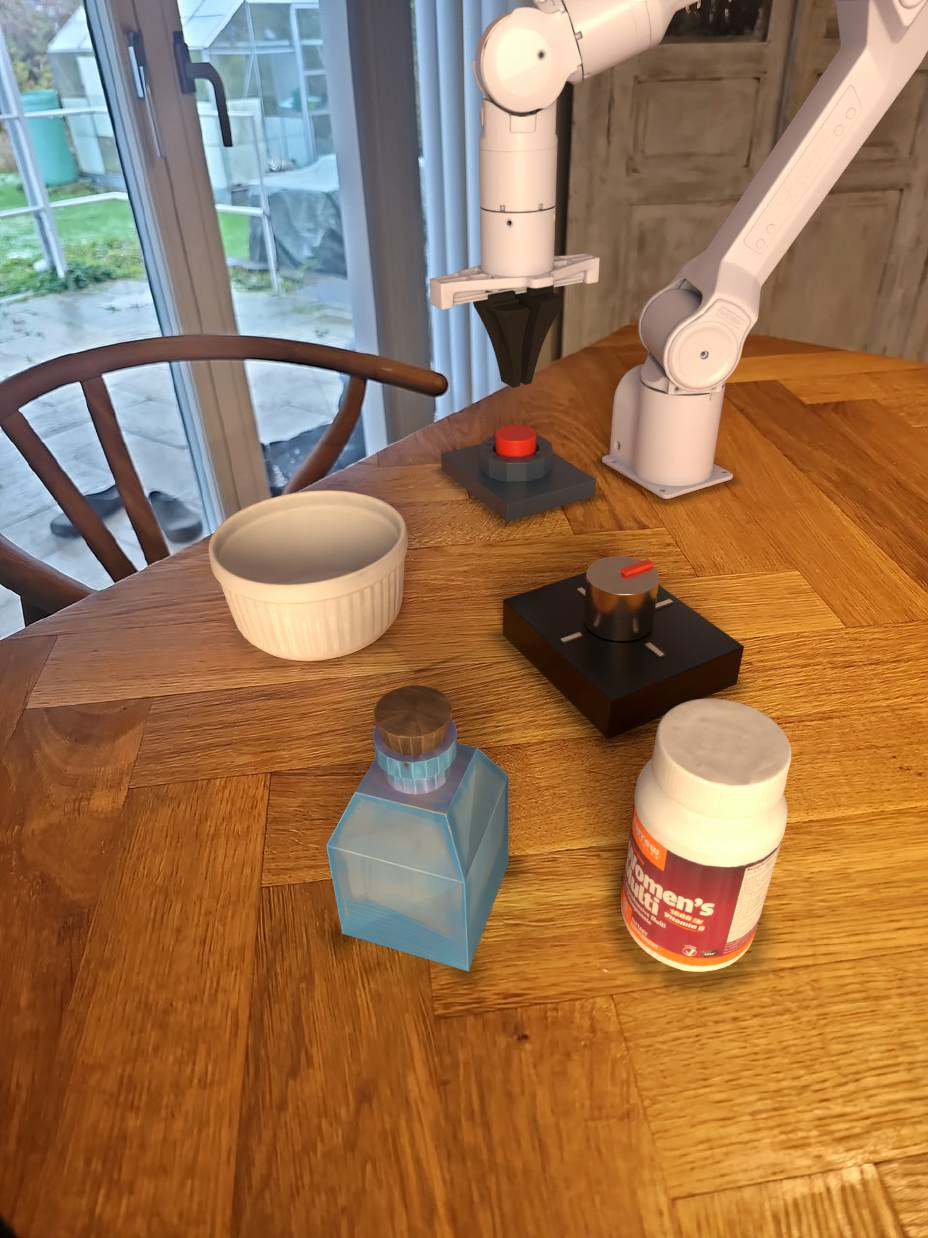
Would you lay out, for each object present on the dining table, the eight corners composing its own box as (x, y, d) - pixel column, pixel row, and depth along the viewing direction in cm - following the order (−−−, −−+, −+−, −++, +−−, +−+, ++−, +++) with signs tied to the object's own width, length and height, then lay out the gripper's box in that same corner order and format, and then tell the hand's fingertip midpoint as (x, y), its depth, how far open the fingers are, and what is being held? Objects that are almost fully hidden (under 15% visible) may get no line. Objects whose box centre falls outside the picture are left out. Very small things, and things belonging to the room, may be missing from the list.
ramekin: (239, 574, 66) (222, 493, 62) (409, 562, 66) (403, 481, 62) (213, 683, 55) (190, 593, 51) (417, 667, 56) (410, 577, 51)
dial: (611, 649, 51) (616, 597, 49) (569, 614, 55) (572, 564, 52) (668, 627, 53) (674, 576, 51) (624, 594, 56) (629, 545, 54)
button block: (441, 470, 80) (439, 435, 78) (522, 449, 83) (523, 415, 81) (507, 522, 71) (507, 484, 69) (594, 496, 75) (597, 460, 73)
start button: (488, 448, 76) (487, 430, 75) (522, 439, 77) (522, 421, 76) (508, 463, 73) (509, 444, 72) (543, 453, 75) (544, 435, 74)
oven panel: (502, 635, 58) (502, 597, 56) (620, 593, 62) (623, 556, 60) (607, 740, 49) (611, 698, 48) (737, 684, 53) (745, 644, 51)
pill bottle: (594, 925, 39) (612, 748, 33) (660, 843, 43) (688, 669, 37) (717, 1005, 36) (763, 825, 30) (777, 908, 40) (830, 730, 33)
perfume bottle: (508, 863, 42) (509, 677, 35) (468, 971, 38) (460, 781, 31) (394, 834, 44) (373, 651, 37) (342, 933, 39) (308, 745, 32)
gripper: (458, 226, 58) (463, 414, 66) (627, 202, 64) (614, 379, 72) (413, 211, 63) (423, 387, 71) (574, 190, 69) (566, 356, 77)
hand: (516, 382), depth 72 cm, fingers closed
